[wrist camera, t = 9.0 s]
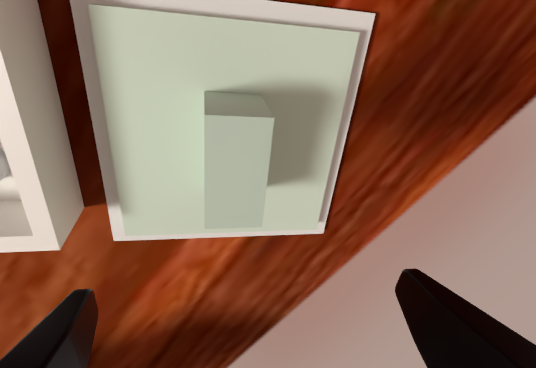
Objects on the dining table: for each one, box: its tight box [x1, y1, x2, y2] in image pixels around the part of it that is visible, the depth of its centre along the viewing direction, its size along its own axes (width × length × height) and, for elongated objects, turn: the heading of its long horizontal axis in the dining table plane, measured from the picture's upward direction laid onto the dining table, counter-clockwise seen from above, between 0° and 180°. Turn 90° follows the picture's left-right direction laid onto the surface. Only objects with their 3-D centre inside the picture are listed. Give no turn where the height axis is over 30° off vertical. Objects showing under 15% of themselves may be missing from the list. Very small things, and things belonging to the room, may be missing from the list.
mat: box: [70, 0, 376, 241], centre depth 19 cm, size 15×15×1 cm
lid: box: [88, 4, 360, 236], centre depth 17 cm, size 13×13×5 cm
